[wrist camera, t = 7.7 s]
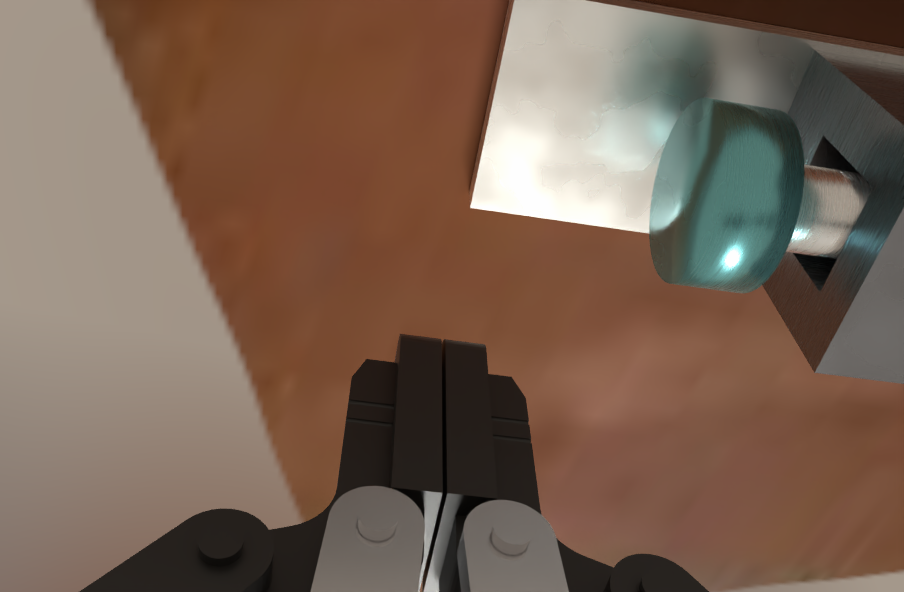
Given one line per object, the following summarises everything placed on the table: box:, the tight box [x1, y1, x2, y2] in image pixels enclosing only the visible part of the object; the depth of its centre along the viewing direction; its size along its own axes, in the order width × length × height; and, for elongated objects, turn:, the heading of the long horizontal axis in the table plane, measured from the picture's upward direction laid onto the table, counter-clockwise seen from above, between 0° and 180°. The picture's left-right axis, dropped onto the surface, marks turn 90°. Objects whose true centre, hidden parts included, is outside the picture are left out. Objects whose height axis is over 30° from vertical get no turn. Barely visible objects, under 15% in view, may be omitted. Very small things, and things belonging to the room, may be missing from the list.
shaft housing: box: [469, 0, 904, 384], centre depth 24 cm, size 17×7×8 cm, turn 80°
